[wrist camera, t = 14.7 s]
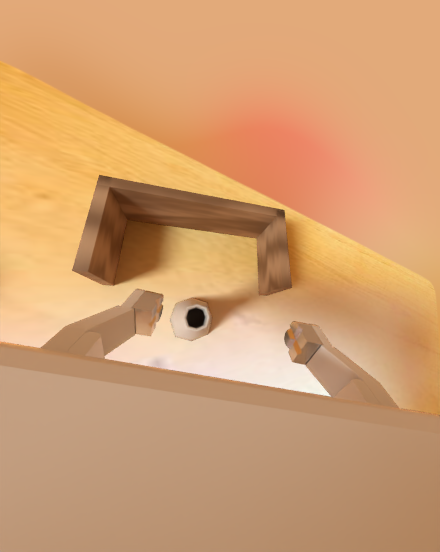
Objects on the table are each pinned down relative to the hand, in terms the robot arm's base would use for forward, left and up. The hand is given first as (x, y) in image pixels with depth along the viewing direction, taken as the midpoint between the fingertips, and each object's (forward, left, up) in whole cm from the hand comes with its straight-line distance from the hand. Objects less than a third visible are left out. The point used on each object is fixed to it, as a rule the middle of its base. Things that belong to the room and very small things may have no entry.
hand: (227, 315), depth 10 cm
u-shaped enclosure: (+11, -4, -20) cm, 23 cm away
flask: (0, +1, -20) cm, 20 cm away
